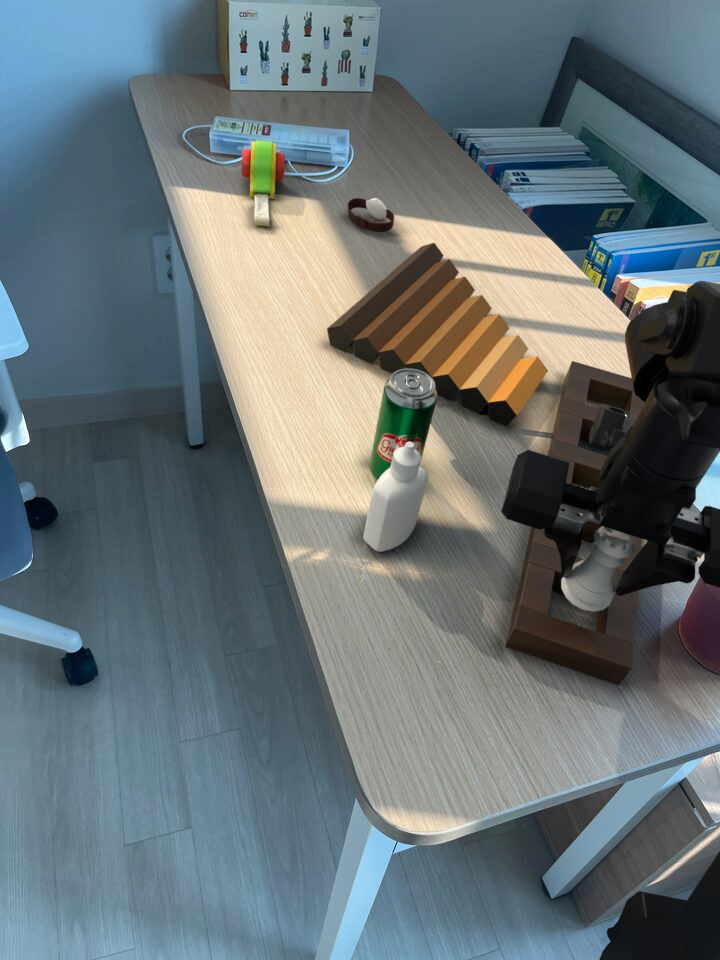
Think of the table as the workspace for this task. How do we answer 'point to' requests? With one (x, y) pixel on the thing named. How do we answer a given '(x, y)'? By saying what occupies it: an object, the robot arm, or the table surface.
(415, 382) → the soda can
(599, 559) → the rook chess piece
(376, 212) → the watch
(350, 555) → the table surface
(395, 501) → the eye dropper bottle
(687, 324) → the robot arm
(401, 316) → the pan flute
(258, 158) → the toy measuring tape
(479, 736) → the table surface
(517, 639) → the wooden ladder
